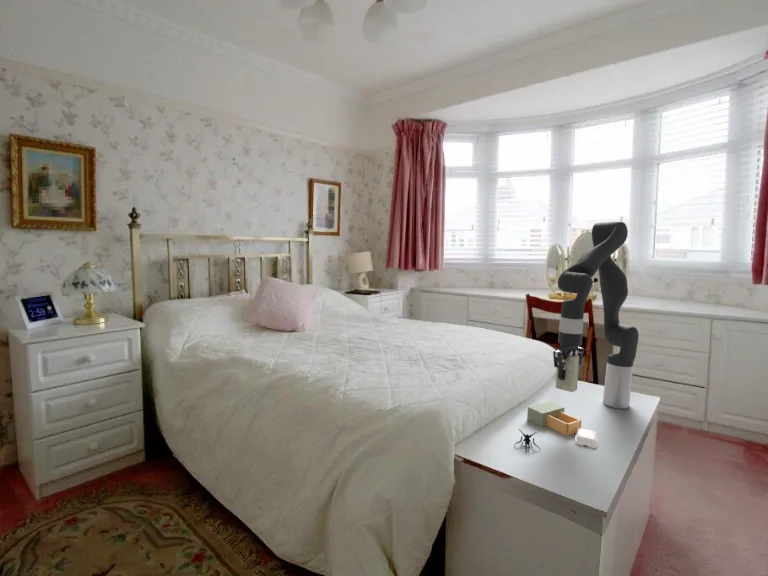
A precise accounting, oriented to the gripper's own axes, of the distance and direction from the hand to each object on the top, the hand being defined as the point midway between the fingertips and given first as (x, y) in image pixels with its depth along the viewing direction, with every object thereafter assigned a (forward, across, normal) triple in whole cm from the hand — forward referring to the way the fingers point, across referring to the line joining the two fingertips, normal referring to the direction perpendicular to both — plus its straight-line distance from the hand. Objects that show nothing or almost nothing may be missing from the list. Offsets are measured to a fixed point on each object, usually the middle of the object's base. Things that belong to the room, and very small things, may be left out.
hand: (566, 378), depth 147 cm
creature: (+19, +23, +4) cm, 30 cm away
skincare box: (+4, 0, 0) cm, 4 cm away
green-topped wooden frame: (+18, 0, -3) cm, 18 cm away
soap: (+19, +1, +10) cm, 21 cm away
